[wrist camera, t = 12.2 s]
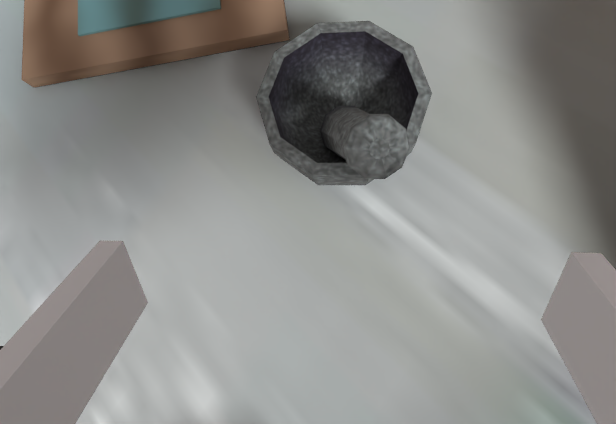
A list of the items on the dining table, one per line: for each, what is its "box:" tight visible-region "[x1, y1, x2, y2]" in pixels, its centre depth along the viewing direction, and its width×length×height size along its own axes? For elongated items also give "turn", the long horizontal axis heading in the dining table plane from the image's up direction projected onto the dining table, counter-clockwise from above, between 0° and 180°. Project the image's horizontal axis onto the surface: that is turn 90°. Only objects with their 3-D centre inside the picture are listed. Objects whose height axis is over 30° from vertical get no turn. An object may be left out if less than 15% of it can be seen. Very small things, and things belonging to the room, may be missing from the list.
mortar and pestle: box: [256, 21, 432, 185], centre depth 22 cm, size 11×9×12 cm
